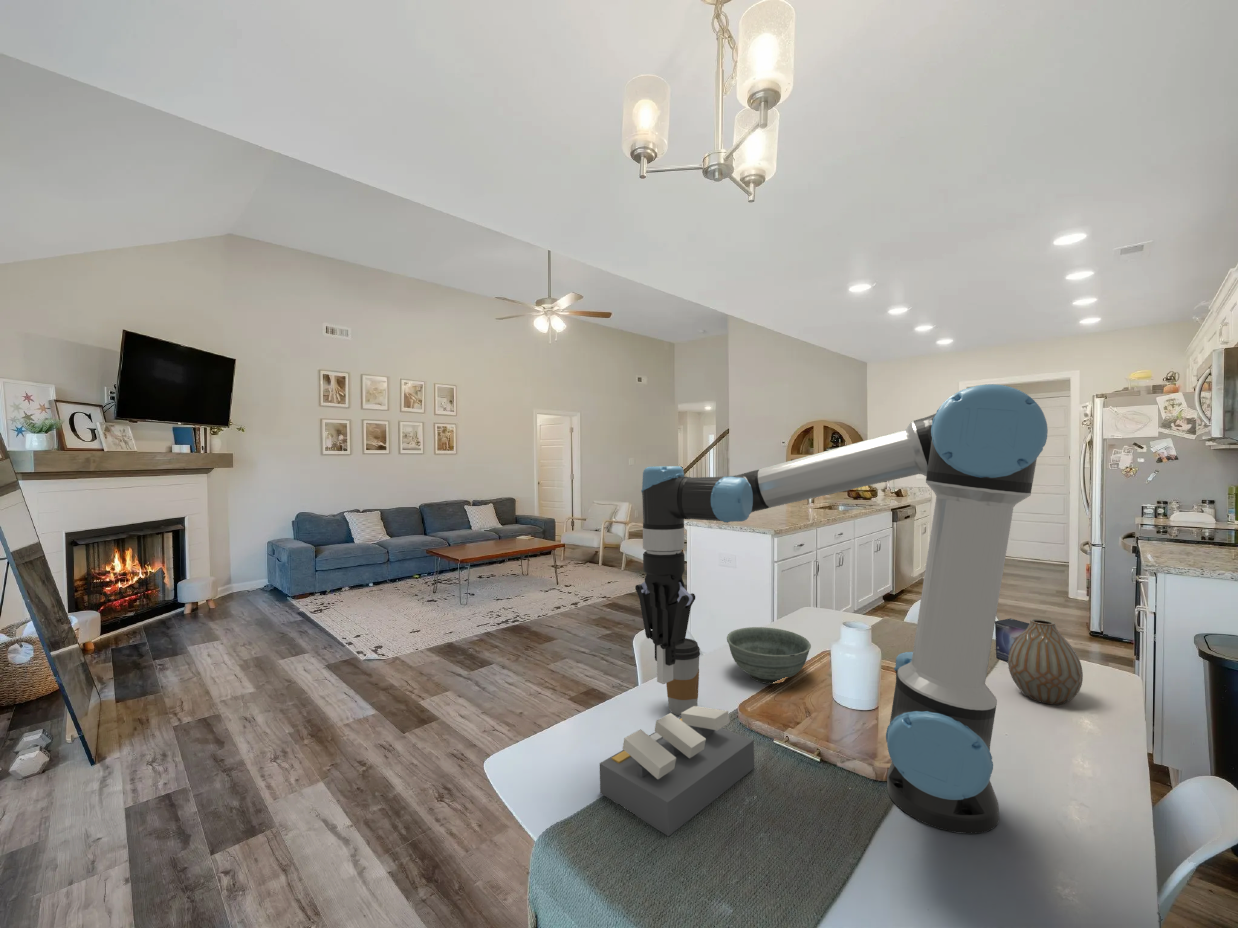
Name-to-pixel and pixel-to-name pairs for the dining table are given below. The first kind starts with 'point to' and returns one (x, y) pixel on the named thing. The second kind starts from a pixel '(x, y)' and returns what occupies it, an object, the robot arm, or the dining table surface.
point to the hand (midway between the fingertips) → (665, 680)
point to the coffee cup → (684, 678)
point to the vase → (1045, 664)
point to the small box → (1007, 636)
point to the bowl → (768, 652)
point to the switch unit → (678, 779)
